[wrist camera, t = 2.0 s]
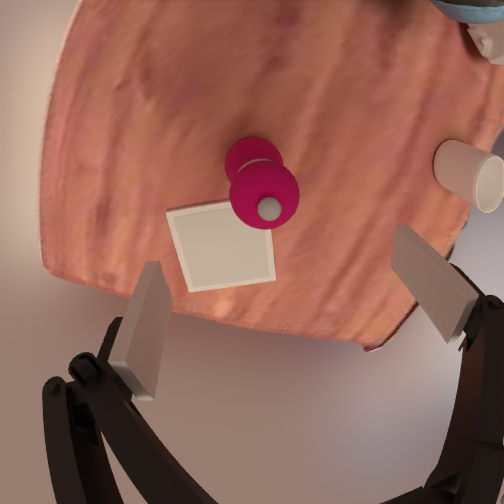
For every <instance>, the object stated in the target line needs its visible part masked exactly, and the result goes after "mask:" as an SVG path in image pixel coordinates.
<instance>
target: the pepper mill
mask: <svg viewBox="0 0 504 504" xmlns="http://www.w3.org/2000/svg"><path fill="white" fill-rule="evenodd" d="M225 171H226V174H227V177H228V179H229V181H230V183H231V187H230V196H229V197H230V203H231V206H232V208H233V211H234V213H235V214H236V216H237V217H238V218H239V219H240V220H241V221H242V222H244V223H245V224H246V225H248V226H250V227H253V228H256V229H262V230H268V229H273V228H277V227H279V226H281V225H283V224H284V223H285V222H287V221H288V220H289V219H290V218H291V217H292V216H293V214H294V213H295V211H296V209H297V206H298V204H299V197H300V195H299V188H298V184H297V182H296V179H295V177H294V176H293V175H292V173H291V172H290V171H289V170H288V169H287V168H286V167H284V166H283V160H282V157H281V155H280V153H279V151H278V149H277V148H276V147H275V146H274V145H273V144H272V143H271V142H269V141H267V140H265V139H262V138H246V139H243V140H241V141H239V142H238V143H236V144H235V145H234V146H233V147H232V148H231V149H230V151H229V152H228V154H227V157H226V160H225Z"/></svg>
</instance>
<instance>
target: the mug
mask: <svg viewBox="0 0 504 504" xmlns="http://www.w3.org/2000/svg"><path fill="white" fill-rule="evenodd" d="M434 174H435V177H436V179H437V181H438V183H439V184H440V185H441V186H443V187H444V188H446V189H447V190H449V191H451V192H452V193H454V194H456V195H457V196H459V197H461V198H462V199H464V200H465V201H467V202H469V203H470V204H472V205H473V206H475V207H476V208H478V209H479V210H481V211H482V212H484V213H490V212H492V211H493V210H495V209H496V208H497V207H498V206H499V205H500V203H501V201H502V199H503V197H504V161H503V160H502V159H501V158H500V157H498V156H496V155H493V154H491V153H489V152H486V151H484V150H481V149H479V148H476V147H473V146H471V145H468V144H465V143H462V142H459V141H457V140H447V141H445V142H443V143H442V144H441V145H440V147H439V148H438V150H437V152H436V155H435V158H434Z"/></svg>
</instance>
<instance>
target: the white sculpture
mask: <svg viewBox="0 0 504 504" xmlns="http://www.w3.org/2000/svg"><path fill="white" fill-rule="evenodd" d="M468 26H469V28H468V29H467V31H468V32H469V34H470V36H471V38H472V39H473V41H474V43H475V45H476V46H477V48H478V50H479V52H480V54H481V55H482V56H484V58H486V59H487V60H488V62H489V63H490V64H496V65H504V19H503V20H500V21H497V22H493V23H486V24H468Z"/></svg>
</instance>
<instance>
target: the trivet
mask: <svg viewBox="0 0 504 504" xmlns="http://www.w3.org/2000/svg"><path fill="white" fill-rule="evenodd" d="M166 216H167V219H168V223H169V227H170V230H171V234H172V237H173V241H174V244H175V248H176V251H177V254H178V258H179V261H180V264H181V268H182V271H183V274H184V277H185V280H186V283H187V287H188V290H189V292H196V291H204V290H211V289H219V288H226V287H234V286H241V285H248V284H255V283H262V282H269V281H275V280H276V276H275V265H274V255H273V245H272V235H271V229H268V230H262V229H256V228H253V227H250V226H248V225H246V224H245V223H244V222H242V221H241V220H240V219H239V218H238V217H237V216H236V214H235V213H234V211H233V208H232V206H231V203H230V199H228V200H222V201H215V202H209V203H203V204H197V205H192V206H186V207H180V208H175V209H170V210H167V211H166Z"/></svg>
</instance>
